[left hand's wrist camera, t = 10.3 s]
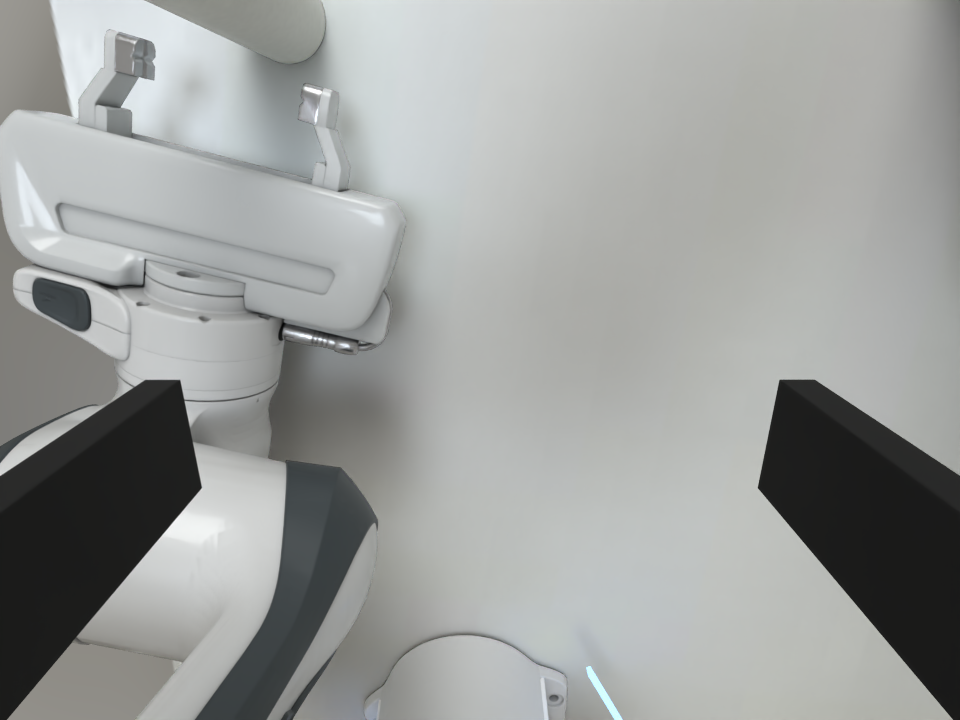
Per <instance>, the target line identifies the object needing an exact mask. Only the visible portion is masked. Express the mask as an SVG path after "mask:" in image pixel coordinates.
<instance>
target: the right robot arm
mask: <svg viewBox="0 0 960 720" xmlns="http://www.w3.org/2000/svg"><path fill="white" fill-rule="evenodd" d="M155 52H156V51H155V47H154V44H153V43H152V42H151V41H148V40H145V39H142V38H138V37H135V36H132V35H128V34H125V33H121V32H117V31H114V30H110V29H109V30H108V31H106V34H105V40H104V68H101V69H100V70H99V72H98V73H97V74H96V76H95V77H94V79H93V80H92V81H91V83H90V84H89V86H88V87H87V88H86V90H85V91H84V92H83V94H82V95H81V97H80V98H79V119H78V118H74V117H70V116H66V115H62V114H57V113H50V112H42V111H32V110H15V111H13V112H12V113H11V114H10V115H9V116H8V117H7V118H6V119H5V121H4V122H3V123H2V124H1V125H0V196H1V203H2V210H3V216H4V222H5V225H6V229H7V232H8V235H9V237H10V239H11V241H12V243H13V244H14V246H15V247H16V249H17V250H18V251H19V252H20V253H21V254H22V255H23V256H24V257H25V258H26V259H28V260H29V261H31V262H33V263H35V264H32V265H29V266H26V267H24V268H21V269H19V270H17V271H16V272H15V274H14V277H13V292H14V296H15V298H16V300H17V301H18V302H19V303H20V304H21V305H22V306H23V307H25V308H26V309H28V310H30V311H32V312H34V313H36V314H37V315H39V316H41V317H43V318H45V319H47V320H49V321H51V322H53V323H55V324H57V325H59V326H61V327H63V328H64V329H66V330H68V331H70V332H72V333H73V334H75V335H77V336H79V337H80V338H82V339H84V340H85V341H87V342H89V343H90V344H92V345H93V346H95V347H96V348H98V349H99V350H101V351H102V352H104V353H105V354H107V355H109V356H111V357H113V358H115V372H116V376H117V381H118V388H117V392H116V394H115V396H114V397H113V398H112V399H111V401H109V402H108V403H106V404H104V405H101V406H99V405H88V406H84V407H81V408H78V409H76V410H73V411H71V412H68V413H66V414H64V415H61V416H59V417H57V418H55V419H52V420H50V421H48V422H46V423H44V424H41V425H39V426H37V427H35V428H33V429H31V430H29V431H27V432H25V433H23V434H21V435H19V436H17V437H15V438H13V439H12V440H10V441H8V442H7V443H5V444H3V445H2V446H0V476H1V475H2V474H4V473H5V472H7V471H8V470H10V469H11V468H13V467H14V466H16V465H17V464H19V463H20V462H22V461H23V460H25V459H26V458H28V457H29V456H31V455H32V454H34V453H35V452H37V451H38V450H40V449H42V448H43V447H45V446H46V445H48V444H49V443H51V442H52V441H54V440H55V439H57V438H58V437H60V436H61V435H63V434H64V433H66V432H67V431H69V430H70V429H72V428H73V427H75V426H76V425H78V424H79V423H81V422H82V421H84V420H85V419H87V418H88V417H90V416H91V415H93V414H94V413H96V412H97V411H99V410H100V409H102V408H103V407H105V406H106V405H108V404H110V403H111V402H113V401H114V400H116V399H117V398H119V397H120V396H122V395H123V394H125V393H126V392H128V391H129V390H131V389H132V388H134V387H135V386H137V385H138V384H140V383H141V382H143V381H144V380H180V381H181V386H182V390H183V395H184V400H185V405H186V410H187V415H188V420H189V425H190V430H191V435H192V440H193V445H194V450H195V455H196V460H197V465H198V470H199V475H200V480H201V485H202V489H201V490H200V491H199V492H198V493H197V495H196V496H195V497H194V498H193V499H192V501H191V502H190V503H189V504H188V505H187V507H186V508H185V509H184V510H183V511H182V512H181V514H180V515H179V516H178V517H177V518H176V520H175V521H174V522H173V523H172V524H171V525H170V527H169V528H168V529H167V530H166V531H165V533H164V534H163V535H162V536H161V537H160V539H159V540H158V541H157V542H156V543H155V544H154V546H153V547H152V548H151V549H150V550H149V552H148V553H147V554H146V555H145V556H144V558H143V559H142V560H141V561H140V562H139V563H138V565H137V566H136V567H135V568H134V569H133V571H132V572H131V573H130V574H129V575H128V577H127V578H126V579H125V580H124V581H123V582H122V584H121V585H120V586H119V587H118V588H117V590H116V591H115V592H114V593H113V594H112V595H111V597H110V598H109V599H108V600H107V601H106V603H105V604H104V605H103V606H102V607H101V609H100V610H99V611H98V612H97V613H96V614H95V616H94V617H93V618H92V619H91V620H90V622H89V623H88V624H87V625H86V626H85V628H84V629H83V630H82V631H81V632H80V633H79V635H78V636H77V637H76V638H75V639H74V641H73V642H72V643H77V644H86V645H89V644H94V645H99V646H104V647H109V648H114V649H119V650H124V651H129V652H134V653H139V654H144V655H150V656H154V657H159V658H164V659H170V660H175V661H180V662H183V663H182V664H181V665H180V666H179V668H178V669H177V670H176V671H175V672H174V673H173V675H172V676H171V677H170V678H169V679H168V681H167V682H166V683H165V684H164V685H163V686H162V688H161V689H160V690H159V691H158V692H157V694H156V695H155V696H154V697H153V698H152V699H151V701H150V702H149V703H148V704H147V705H146V707H145V708H144V709H143V710H142V711H141V712H140V714H139V715H138V716H137V717H136V718H135V720H293V718H294V716H295V714H296V713H297V711H298V709H299V708H300V706H301V704H302V703H303V701H304V700H305V698H306V697H307V695H308V694H309V692H310V691H311V689H312V688H313V686H314V685H315V683H316V682H317V680H318V679H319V677H320V676H321V674H322V673H323V671H324V670H325V668H326V667H327V665H328V664H329V662H330V660H331V659H332V657H333V655H334V654H335V652H336V650H337V648H338V646H339V645H340V644H341V643H342V641H343V640H344V638H345V637H346V635H347V634H348V633H349V631H350V629H351V628H352V626H353V624H354V623H355V621H356V619H357V617H358V615H359V613H360V611H361V609H362V607H363V605H364V602H365V600H366V597H367V594H368V591H369V588H370V585H371V582H372V578H373V574H374V569H375V564H376V557H377V548H378V536H377V530H378V519H377V517H376V516H375V514H374V512H373V510H372V508H371V507H370V505H369V503H368V502H367V500H366V498H365V497H364V495H363V494H362V493H361V491H360V490H359V489H358V487H357V486H356V485H355V484H354V482H353V481H352V480H351V479H350V477H349V476H348V475H347V474H346V473H345V472H344V471H343V469H342V468H340V467H332V466H325V465H318V464H310V463H303V462H296V461H289V460H286V462H281V461H277V460H272V459H268V456H269V450H270V444H271V434H272V431H271V424H270V420H269V404H270V401H271V398H272V396H273V394H274V392H275V390H276V388H277V385H278V382H279V377H280V370H281V363H282V356H283V349H284V341H285V340H286V341H290V342H295V343H299V344H303V345H308V346H316V347H323V348H328V349H332V350H334V351H335V352H338V353H342V354H347V355H357V354H358V351H367V350H371V349H374V348H376V347H377V346H379V345H380V344H381V343H382V342H383V341H384V340H385V338H386V337H387V334H388V331H389V326H390V321H391V316H392V311H393V307H392V301H391V298H390V296H389V294H388V292H387V291H386V287H387V284H388V282H389V279H390V277H391V274H392V271H393V269H394V266H395V263H396V260H397V257H398V253H399V250H400V247H401V243H402V239H403V235H404V231H405V227H406V218H405V216H404V214H403V212H402V210H401V208H400V206H399V205H398V203H397V202H395V201H393V200H390V199H386V198H382V197H378V196H374V195H370V194H367V193H363V192H359V191H355V190H351V189H347V188H348V181H349V175H350V168H351V167H350V164H349V161H348V158H347V156H346V153H345V150H344V147H343V144H342V142H341V139H340V136H339V133H338V130H335V127H336V120H337V114H338V107H339V93H338V92H336V91H333V90H330V89H326V88H323V87H319V86H315V85H311V84H307V83H305V84H303V87H302V91H301V98H302V100H303V103H302V104H301V105H300V107H299V115H298V120H301V121H304V122H308V123H311V124H314V128H315V131H316V134H317V137H318V140H319V143H320V146H321V149H322V152H323V155H324V158H325V161H326V162H317V163H315V165H314V172H313V178H312V179H309V178H305V177H301V176H297V175H293V174H290V173H286V172H282V171H278V170H274V169H270V168H266V167H263V166H259V165H255V164H251V163H247V162H243V161H239V160H236V159H232V158H228V157H224V156H220V155H216V154H212V153H209V152H205V151H201V150H197V149H193V148H189V147H185V146H182V145H178V144H174V143H170V142H166V141H162V140H158V139H155V138H151V137H147V136H143V135H139V134H135V133H132V112H131V110H128V109H125V108H121V105H122V104H123V102H124V101H125V99H126V97H127V96H128V94H129V93H130V91H131V89H132V88H133V86H134V84H135V83H136V81H137V80H138V78H139V77H141V78H145V79H150V80H154V76H155V66H154V64H153V62H152V61H153V60H154V58H155ZM360 341H364V342H368V343H367V344H360ZM587 672H588V676H589V678H590V679H591V681H592V683H593V684H594V686H595V688H596V689H597V691H598V693H599V694H600V696H601V698H602V699H603V701H604V702H605V704H606V706H607V707H608V709H609V711H610V712H611V714H612V716H613V717H614V719H615V720H622V718H621V717H620V715H619V713H618V712H617V710H616V708H615V707H614V705H613V703H612V702H611V700H610V698H609V697H608V695H607V693H606V692H605V690H604V688H603V687H602V685H601V683H600V682H599V680H598V678H597V677H596V675H595V673H594V672H593V670H592V668H591V667H590V666H589V667H587ZM567 692H568V688H567V678H566V677H565V675H563V674H562V673H560V672H558V671H556V670H553V669H550V668H547V667H544V666H540V665H538V664H536V663H534V662H533V661H531V660H530V659H529V658H528V657H526V656H525V655H524V654H523V653H521V652H520V651H518V650H517V649H515V648H514V647H512V646H510V645H508V644H505V643H503V642H501V641H498V640H495V639H491V638H487V637H482V636H474V635H454V636H447V637H441V638H437V639H434V640H431V641H428V642H425V643H423V644H421V645H419V646H417V647H415V648H413V649H412V650H410V651H409V652H408V653H406V654H405V655H404V656H403V657H402V658H401V659H400V660H399V661H398V662H397V663H396V665H395V666H394V667H393V669H392V671H391V673H390V675H389V677H388V679H387V681H386V682H385V684H384V685H383V686H382V687H381V688H379V689H378V690H377V691H375V692H374V693H373V694H371V695H370V696H369V697H368V698H367V699H366V701H365V706H364V716H365V718H366V720H565V715H566V704H567Z"/></svg>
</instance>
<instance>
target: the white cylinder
mask: <svg viewBox="0 0 960 720" xmlns="http://www.w3.org/2000/svg"><path fill="white" fill-rule="evenodd" d="M145 1H147V2H150V3H152V4H154V5H156V6H158V7H160V8H162V9H165V10H167V11H169V12H171V13H173V14H175V15H177V16H180V17H182V18H184V19H186V20H188V21H190V22H192V23H195V24H197V25H199V26H201V27H203V28H205V29H207V30H210V31H212V32H214V33H216V34H218V35H220V36H222V37H225V38H227V39H229V40H231V41H233V42H235V43H238V44H240V45H242V46H244V47H246V48H248V49H250V50H253V51H255V52H257V53H259V54H261V55H263V56H265V57H268V58H270V59H272V60H274V61H276V62H280V63H285V64H294V63H299V62H302V61H304V60H306V59H308V58H309V57H311V56H312V55H313V54H314V53H315V52H316V50H317V49H318V48H319V46H320V44H321V42H322V40H323V37H324V33H325V24H326V20H325V12H324V8H323V4H322V2H321V0H145Z"/></svg>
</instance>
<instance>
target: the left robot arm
mask: <svg viewBox="0 0 960 720" xmlns="http://www.w3.org/2000/svg"><path fill="white" fill-rule="evenodd" d="M201 489H202V485H201V480H200V475H199V470H198V465H197V460H196V455H195V450H194V445H193V440H192V435H191V430H190V425H189V420H188V415H187V410H186V405H185V400H184V395H183V390H182V386H181V381H180V380H144V381H143V382H141V383H140V384H138V385H137V386H135V387H134V388H132V389H131V390H129V391H128V392H126V393H125V394H123V395H122V396H120V397H119V398H117V399H116V400H114V401H113V402H111V403H110V404H108V405H106V406H105V407H103V408H102V409H100V410H99V411H97V412H96V413H94V414H93V415H91V416H90V417H88V418H87V419H85V420H84V421H82V422H81V423H79V424H78V425H76V426H75V427H73V428H72V429H70V430H69V431H67V432H66V433H64V434H63V435H61V436H60V437H58V438H57V439H55V440H54V441H52V442H51V443H49V444H48V445H46V446H45V447H43V448H42V449H40V450H38V451H37V452H35V453H34V454H32V455H31V456H29V457H28V458H26V459H25V460H23V461H22V462H20V463H19V464H17V465H16V466H14V467H13V468H11V469H10V470H8V471H7V472H5V473H4V474H2V475H1V476H0V720H7V719H8V718H9V716H10V715H11V714H12V713H13V712H14V711H15V709H16V708H17V707H18V706H19V705H20V703H21V702H22V701H23V700H24V699H25V697H26V696H27V695H28V694H29V693H30V691H31V690H32V689H33V688H34V687H35V686H36V684H37V683H38V682H39V681H40V680H41V679H42V677H43V676H44V675H45V674H46V673H47V671H48V670H49V669H50V668H51V667H52V665H53V664H54V663H55V662H56V661H57V660H58V658H59V657H60V656H61V655H62V654H63V652H64V651H65V650H66V649H67V648H68V647H69V645H70V644H71V643H72V642H73V641H74V639H75V638H76V637H77V636H78V635H79V633H80V632H81V631H82V630H83V629H84V628H85V626H86V625H87V624H88V623H89V622H90V620H91V619H92V618H93V617H94V616H95V614H96V613H97V612H98V611H99V610H100V609H101V607H102V606H103V605H104V604H105V603H106V601H107V600H108V599H109V598H110V597H111V595H112V594H113V593H114V592H115V591H116V590H117V588H118V587H119V586H120V585H121V584H122V582H123V581H124V580H125V579H126V578H127V577H128V575H129V574H130V573H131V572H132V571H133V569H134V568H135V567H136V566H137V565H138V563H139V562H140V561H141V560H142V559H143V558H144V556H145V555H146V554H147V553H148V552H149V550H150V549H151V548H152V547H153V546H154V544H155V543H156V542H157V541H158V540H159V539H160V537H161V536H162V535H163V534H164V533H165V531H166V530H167V529H168V528H169V527H170V525H171V524H172V523H173V522H174V521H175V520H176V518H177V517H178V516H179V515H180V514H181V512H182V511H183V510H184V509H185V508H186V507H187V505H188V504H189V503H190V502H191V501H192V499H193V498H194V497H195V496H196V495H197V493H198V492H199V491H200V490H201ZM758 489H759V490H760V491H761V492H762V493H763V495H764V496H765V497H766V498H767V499H768V501H769V502H770V503H771V504H772V505H773V507H774V508H775V509H776V510H777V511H778V512H779V514H780V515H781V516H782V517H783V518H784V520H785V521H786V522H787V523H788V524H789V525H790V527H791V528H792V529H793V530H794V531H795V533H796V534H797V535H798V536H799V537H800V539H801V540H802V541H803V542H804V543H805V544H806V546H807V547H808V548H809V549H810V550H811V552H812V553H813V554H814V555H815V556H816V558H817V559H818V560H819V561H820V562H821V563H822V565H823V566H824V567H825V568H826V569H827V571H828V572H829V573H830V574H831V575H832V577H833V578H834V579H835V580H836V581H837V582H838V584H839V585H840V586H841V587H842V588H843V590H844V591H845V592H846V593H847V594H848V595H849V597H850V598H851V599H852V600H853V601H854V603H855V604H856V605H857V606H858V607H859V609H860V610H861V611H862V612H863V613H864V614H865V616H866V617H867V618H868V619H869V620H870V622H871V623H872V624H873V625H874V626H875V628H876V629H877V630H878V631H879V632H880V633H881V635H882V636H883V637H884V638H885V639H886V641H887V642H888V643H889V644H890V645H891V647H892V648H893V649H894V650H895V651H896V652H897V654H898V655H899V656H900V657H901V658H902V660H903V661H904V662H905V663H906V664H907V665H908V667H909V668H910V669H911V670H912V671H913V673H914V674H915V675H916V676H917V677H918V679H919V680H920V681H921V682H922V683H923V684H924V686H925V687H926V688H927V689H928V690H929V692H930V693H931V694H932V695H933V696H934V698H935V699H936V700H937V701H938V702H939V703H940V705H941V706H942V707H943V708H944V709H945V711H946V712H947V713H948V714H949V715H950V716H951V718H952V719H953V720H960V476H959V475H958V474H956V473H955V472H953V471H952V470H950V469H949V468H947V467H946V466H944V465H943V464H941V463H940V462H938V461H937V460H935V459H934V458H932V457H931V456H929V455H928V454H926V453H925V452H923V451H922V450H920V449H918V448H917V447H915V446H914V445H912V444H911V443H909V442H908V441H906V440H905V439H903V438H902V437H900V436H899V435H897V434H896V433H894V432H893V431H891V430H890V429H888V428H887V427H885V426H884V425H882V424H881V423H879V422H878V421H876V420H875V419H873V418H872V417H870V416H869V415H867V414H866V413H864V412H863V411H861V410H860V409H858V408H857V407H855V406H854V405H852V404H850V403H849V402H847V401H846V400H844V399H843V398H841V397H840V396H838V395H837V394H835V393H834V392H832V391H831V390H829V389H828V388H826V387H825V386H823V385H822V384H820V383H819V382H817V381H816V380H780V381H779V386H778V390H777V395H776V400H775V405H774V410H773V415H772V420H771V425H770V430H769V435H768V440H767V445H766V450H765V455H764V460H763V465H762V470H761V475H760V480H759V485H758Z"/></svg>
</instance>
